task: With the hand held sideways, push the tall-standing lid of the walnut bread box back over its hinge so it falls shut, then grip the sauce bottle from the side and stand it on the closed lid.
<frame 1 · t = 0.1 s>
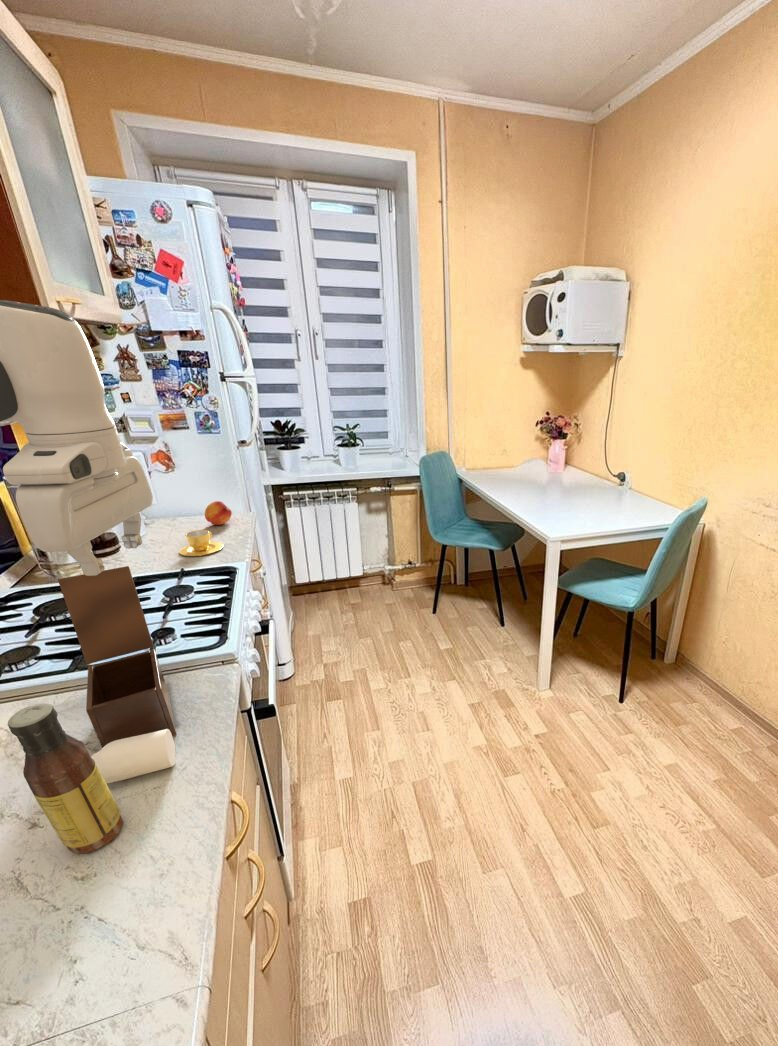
hand: (115, 559, 69), 30 cm above the countertop, tool pointing down, fingers open, 8 cm apart
bread box: (140, 723, 85), on the countertop
cream bottle: (129, 774, 75), on the countertop
bread box lid: (108, 614, 84), point 17 cm above the countertop, hinge at 105.1°
fruit: (220, 524, 179), on the countertop
sauce bottle: (95, 837, 65), on the countertop
cup: (202, 550, 156), on the countertop
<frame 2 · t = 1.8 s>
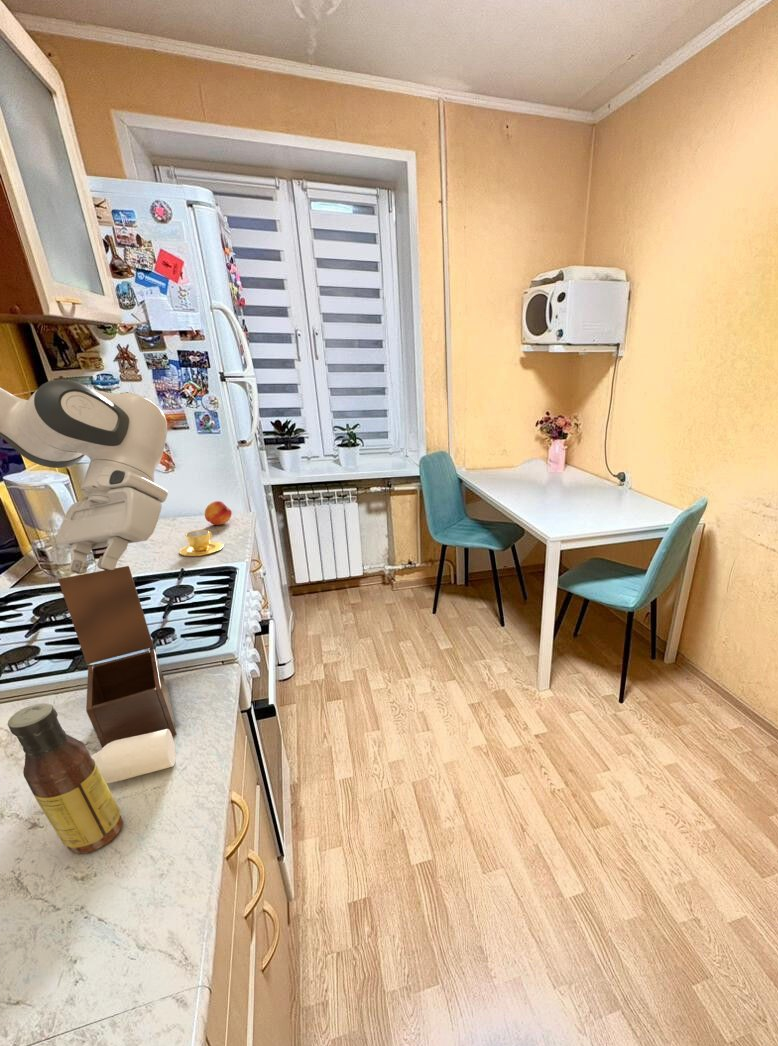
hand: (90, 570, 79), 25 cm above the countertop, tool tilted 45°, fingers open, 6 cm apart
bread box lid: (108, 614, 84), point 16 cm above the countertop, hinge at 106.5°, touching gripper
everything else where it was.
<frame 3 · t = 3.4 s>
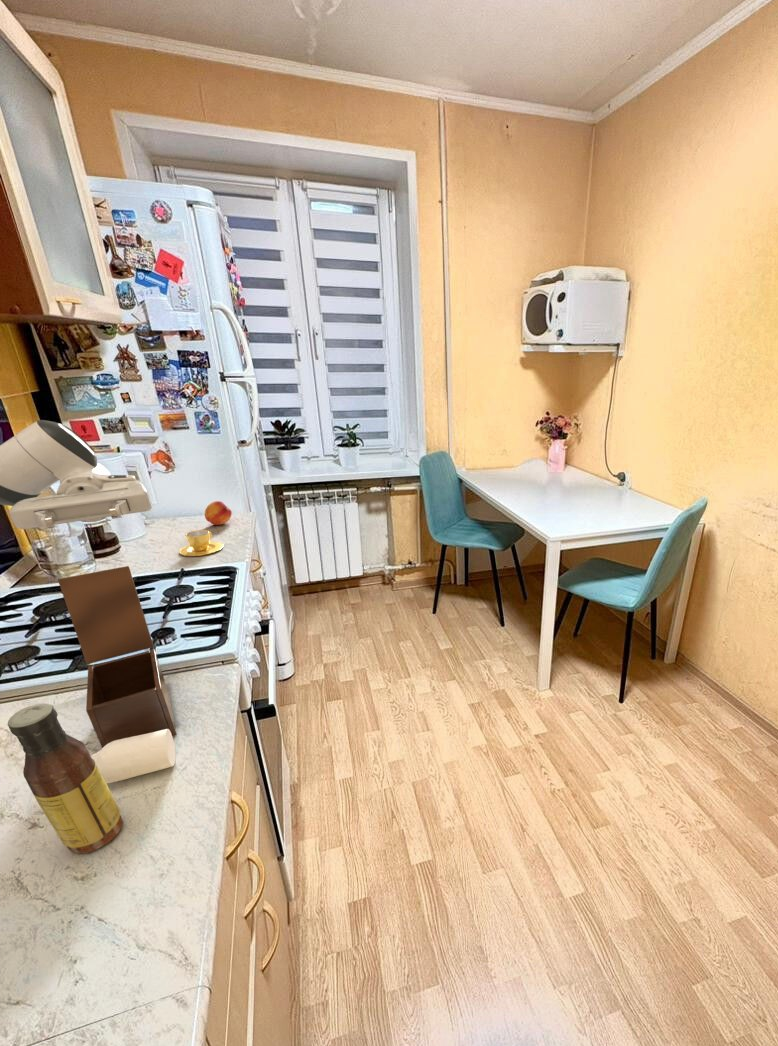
hand: (82, 518, 87), 30 cm above the countertop, tool horizontal, fingers open, 8 cm apart
bread box lid: (108, 614, 84), point 17 cm above the countertop, hinge at 105.1°
everything else where it was.
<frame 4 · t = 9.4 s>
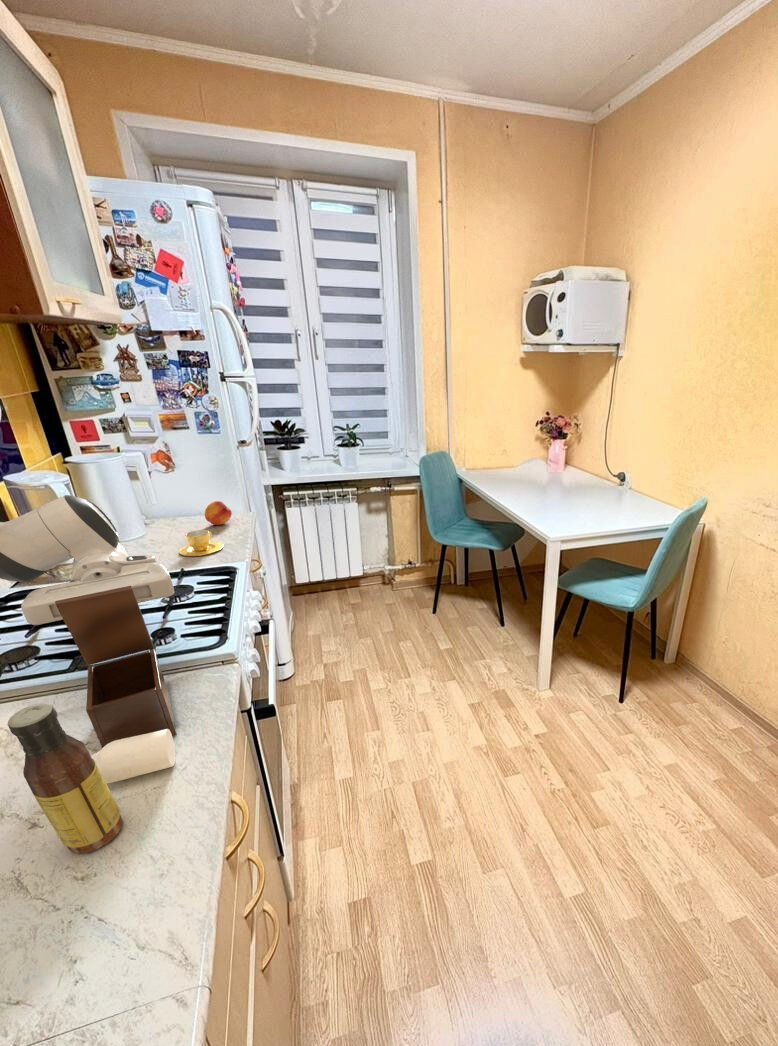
hand: (103, 612, 80), 19 cm above the countertop, tool horizontal, fingers closed
bread box lid: (108, 626, 81), point 16 cm above the countertop, hinge at 69.1°, touching gripper
everything else where it was.
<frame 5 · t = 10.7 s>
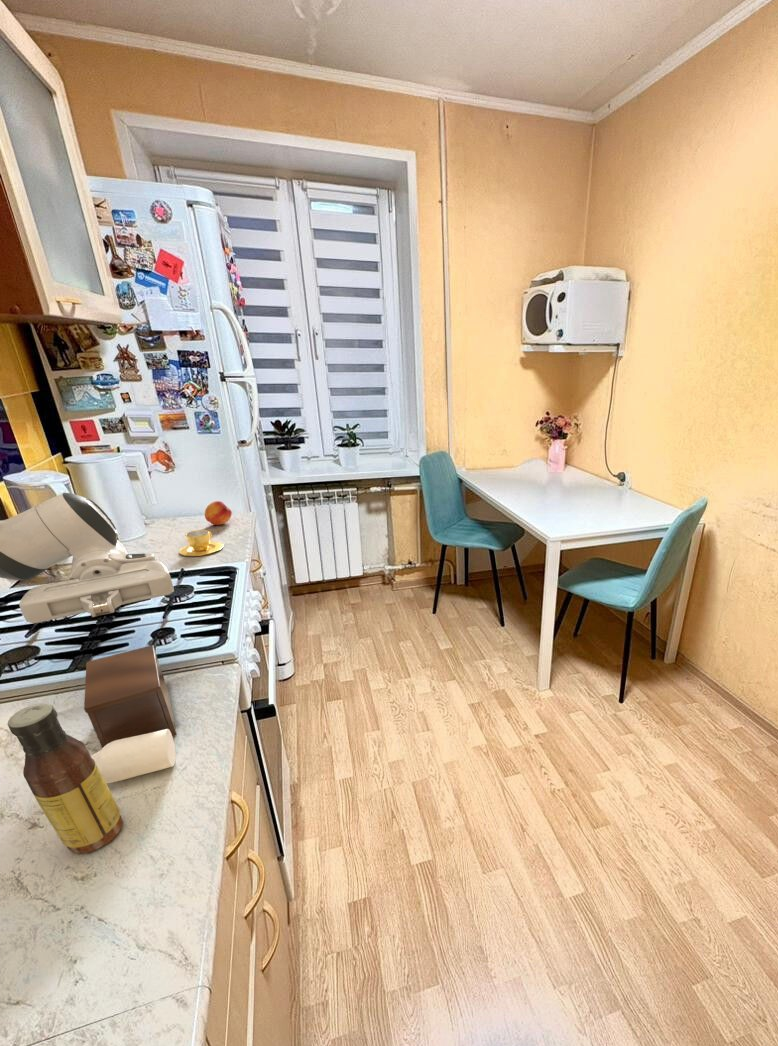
hand: (101, 610, 79), 20 cm above the countertop, tool horizontal, fingers closed
bread box lid: (122, 675, 80), point 10 cm above the countertop, hinge at -0.2°
everything else where it was.
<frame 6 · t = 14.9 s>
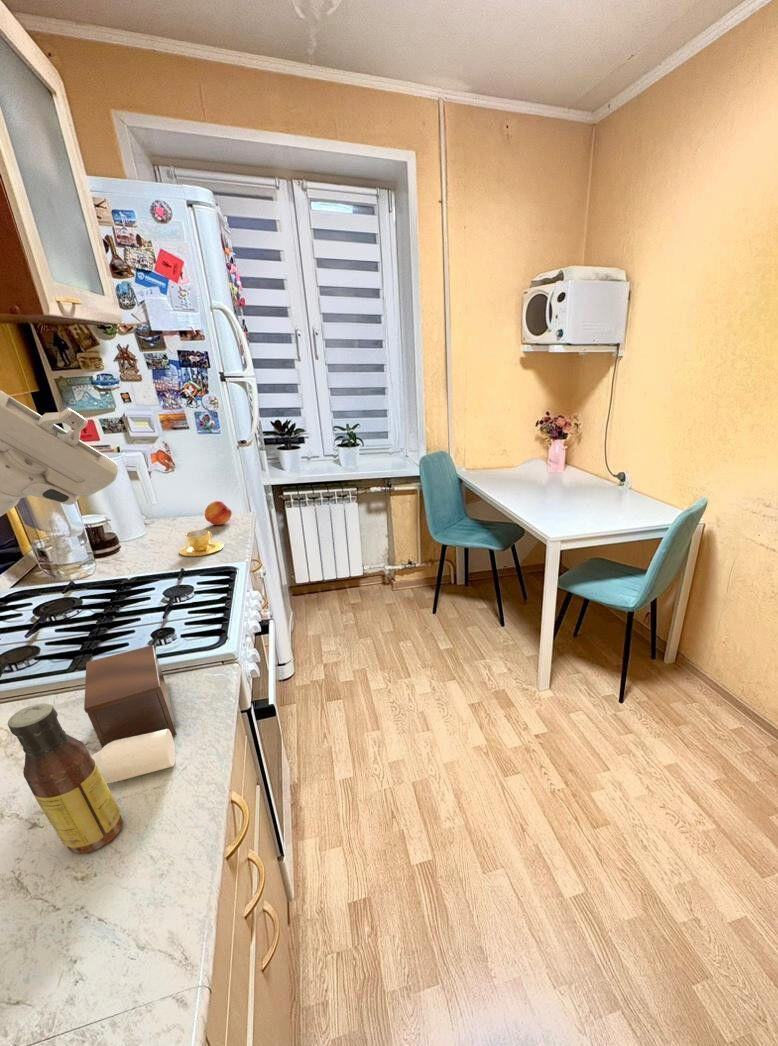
hand: (77, 416, 79), 46 cm above the countertop, tool pointing upward, fingers closed
nothing on the countertop moved.
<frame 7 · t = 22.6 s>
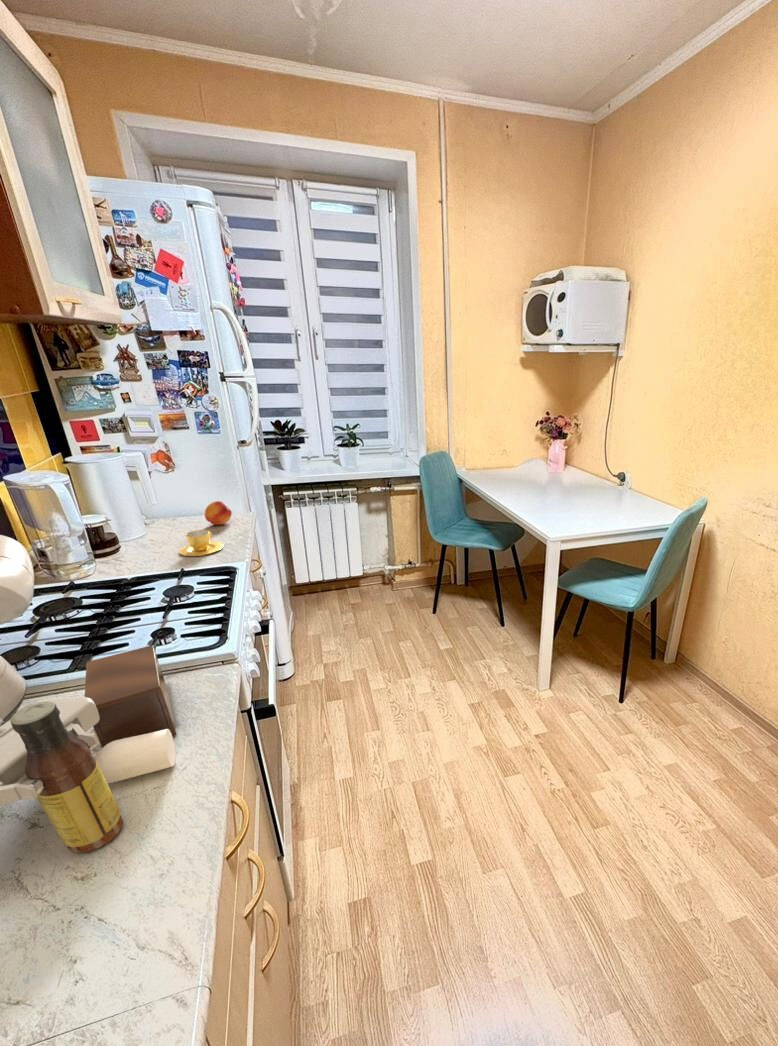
hand: (67, 765, 60), 12 cm above the countertop, tool horizontal, fingers closed on sauce bottle, 6 cm apart
sauce bottle: (95, 837, 65), on the countertop, touching gripper
everything else where it was.
when the fingers open (22 cm above the countertop, at t = 31.3 s): sauce bottle stays where it is, resting on bread box lid.
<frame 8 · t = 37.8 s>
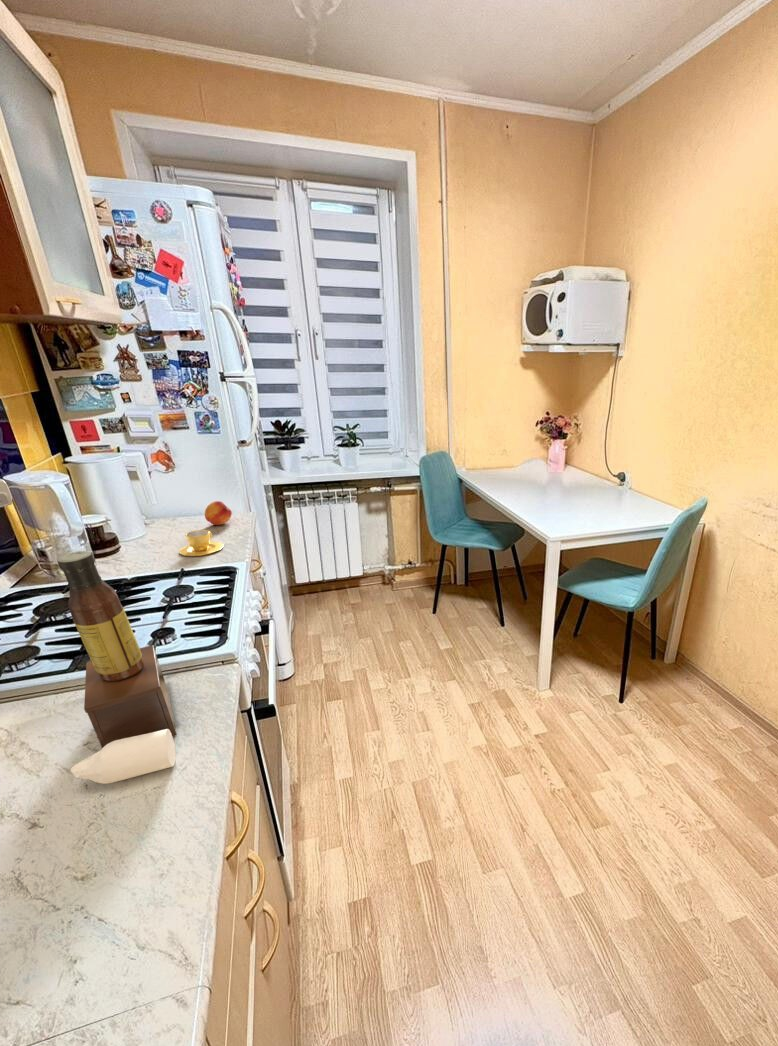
bread box lid: (122, 675, 80), point 10 cm above the countertop, hinge at -0.2°, touching bread box, sauce bottle
sauce bottle: (122, 673, 81), point 10 cm above the countertop, touching bread box lid
everything else where it was.
at the end: bread box lid at +0° (first picture: +105°); sauce bottle inside the target area on the bread box (0.1 cm from its centre), point 9.8 cm above the bread box's base; sauce bottle tilted 0° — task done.
